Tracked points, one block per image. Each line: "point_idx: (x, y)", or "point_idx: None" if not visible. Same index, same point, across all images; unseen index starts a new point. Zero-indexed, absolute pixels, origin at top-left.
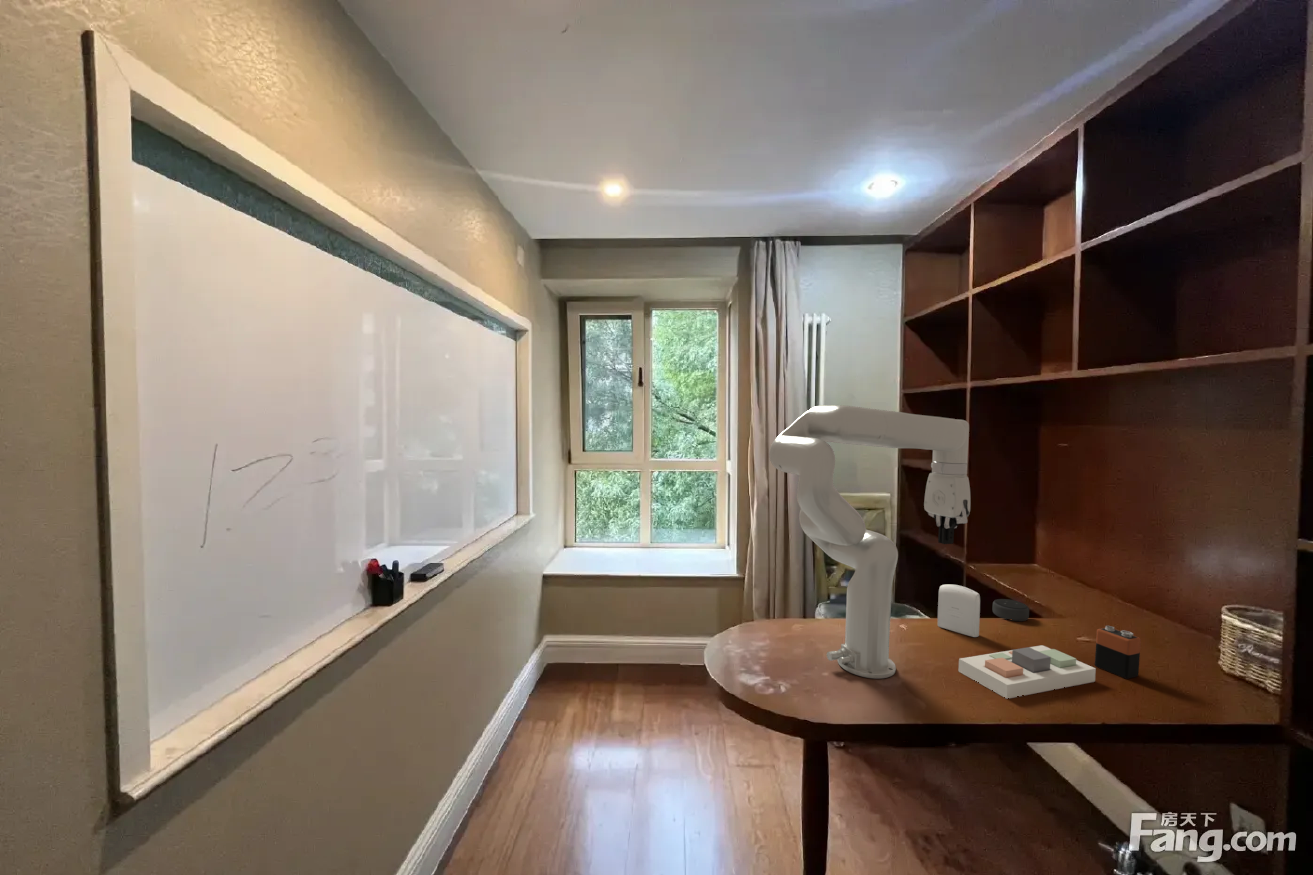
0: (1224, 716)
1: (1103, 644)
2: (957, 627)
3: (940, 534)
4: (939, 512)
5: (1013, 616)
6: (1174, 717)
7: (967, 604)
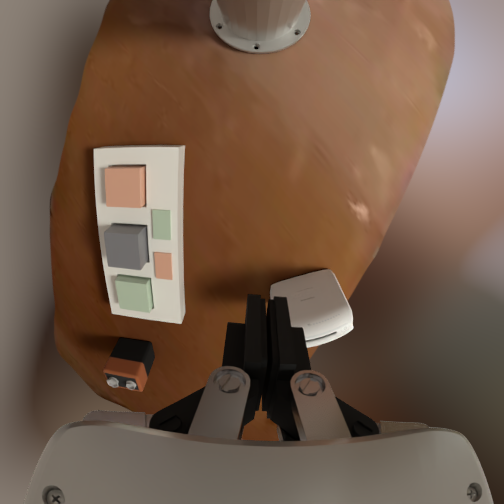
0: (60, 331)
1: (133, 362)
2: (296, 280)
3: (277, 329)
4: (264, 464)
5: None
6: (56, 293)
7: None
